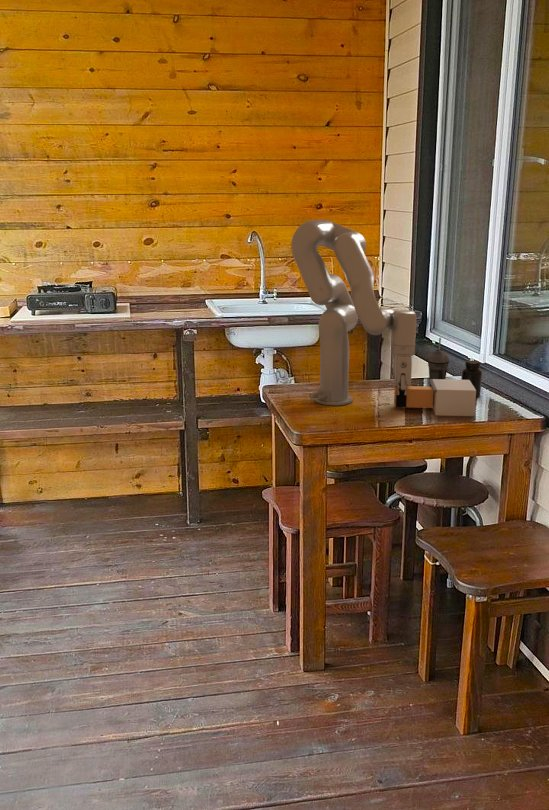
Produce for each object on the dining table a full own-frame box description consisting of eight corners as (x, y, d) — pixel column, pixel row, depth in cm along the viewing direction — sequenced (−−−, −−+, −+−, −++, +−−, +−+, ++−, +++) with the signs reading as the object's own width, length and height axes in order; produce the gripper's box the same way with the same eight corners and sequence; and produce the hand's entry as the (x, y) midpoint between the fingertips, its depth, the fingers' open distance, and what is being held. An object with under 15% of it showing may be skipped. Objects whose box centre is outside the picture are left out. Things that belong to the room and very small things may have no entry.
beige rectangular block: (474, 416, 235) (476, 390, 233) (432, 415, 236) (434, 389, 234) (467, 404, 248) (469, 379, 246) (428, 403, 250) (429, 379, 247)
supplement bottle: (461, 398, 256) (463, 363, 253) (458, 392, 263) (461, 359, 259) (481, 398, 255) (484, 364, 252) (479, 393, 262) (481, 359, 259)
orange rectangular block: (432, 407, 241) (433, 389, 239) (394, 406, 242) (395, 388, 240) (431, 404, 245) (432, 386, 243) (393, 403, 246) (394, 385, 244)
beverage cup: (445, 391, 265) (449, 335, 259) (448, 396, 258) (451, 339, 252) (424, 391, 265) (427, 335, 260) (426, 396, 258) (429, 338, 253)
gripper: (417, 355, 230) (414, 412, 235) (412, 344, 246) (410, 398, 251) (392, 354, 231) (390, 411, 236) (389, 344, 247) (387, 398, 252)
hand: (400, 404), depth 243 cm, fingers closed on orange rectangular block, 4 cm apart
